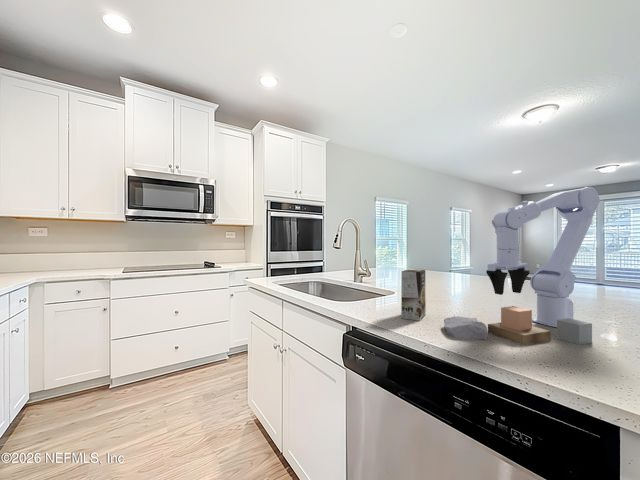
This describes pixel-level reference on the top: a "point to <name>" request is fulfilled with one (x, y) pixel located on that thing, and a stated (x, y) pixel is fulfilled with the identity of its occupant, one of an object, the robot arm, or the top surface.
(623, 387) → the top surface
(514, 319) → the terracotta cube
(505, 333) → the walnut block
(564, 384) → the top surface
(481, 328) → the stone block
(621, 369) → the top surface
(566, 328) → the slate grey cube
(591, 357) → the top surface
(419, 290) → the coffee box
